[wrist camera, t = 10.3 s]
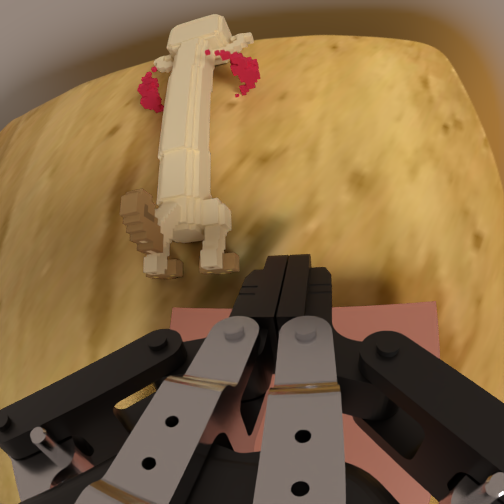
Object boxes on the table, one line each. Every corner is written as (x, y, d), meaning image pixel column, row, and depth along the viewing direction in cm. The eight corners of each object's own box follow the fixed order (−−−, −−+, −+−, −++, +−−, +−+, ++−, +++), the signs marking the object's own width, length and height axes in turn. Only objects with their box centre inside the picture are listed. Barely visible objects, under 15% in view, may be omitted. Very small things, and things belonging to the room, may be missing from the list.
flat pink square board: (416, 580, 6) (444, 300, 12) (149, 557, 10) (164, 307, 16) (410, 565, 8) (433, 310, 14) (165, 546, 11) (180, 316, 17)
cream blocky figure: (280, 273, 19) (257, 25, 25) (241, 231, 11) (233, -41, 17) (142, 284, 21) (168, 50, 28) (51, 259, 13) (131, -6, 19)
